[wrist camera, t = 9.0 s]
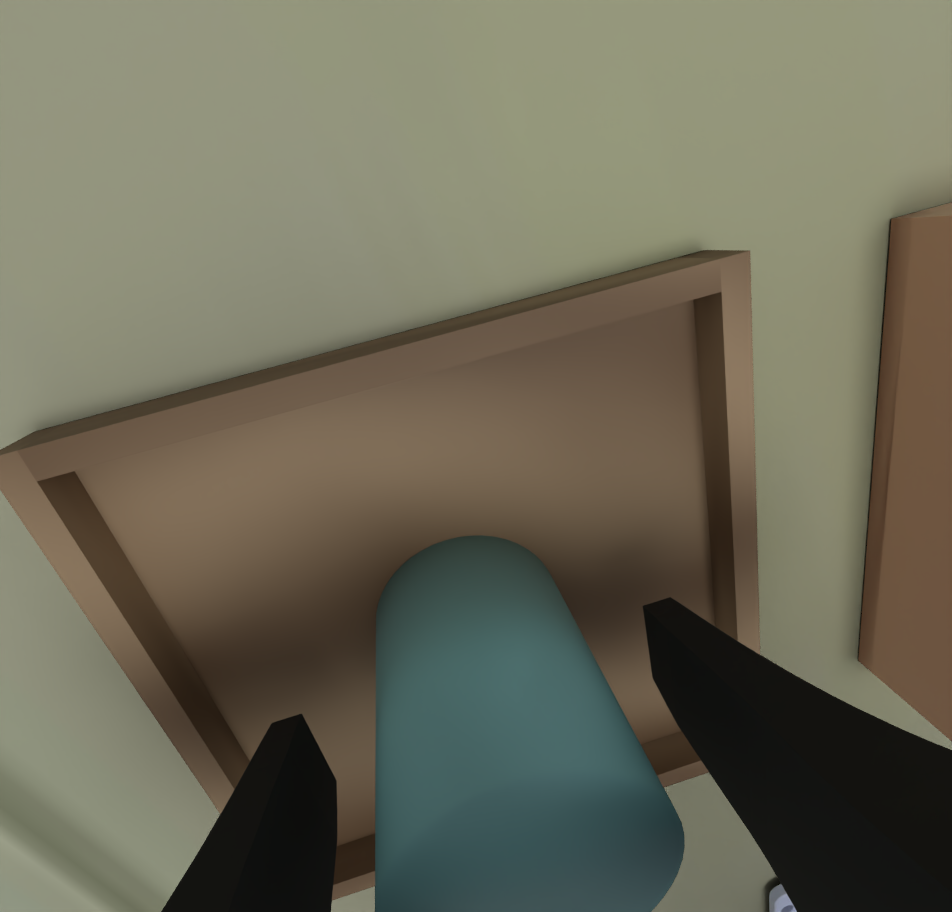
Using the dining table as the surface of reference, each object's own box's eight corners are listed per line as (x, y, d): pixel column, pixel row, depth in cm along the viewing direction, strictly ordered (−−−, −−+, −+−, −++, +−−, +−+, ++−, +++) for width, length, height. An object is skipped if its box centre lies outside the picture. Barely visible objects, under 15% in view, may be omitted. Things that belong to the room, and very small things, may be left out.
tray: (730, 712, 17) (762, 753, 15) (297, 856, 16) (289, 915, 14) (704, 250, 11) (750, 250, 10) (34, 431, 10) (-20, 460, 9)
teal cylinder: (570, 655, 14) (695, 918, 9) (406, 708, 14) (425, 1016, 8) (538, 512, 12) (671, 728, 7) (350, 569, 12) (326, 844, 6)
